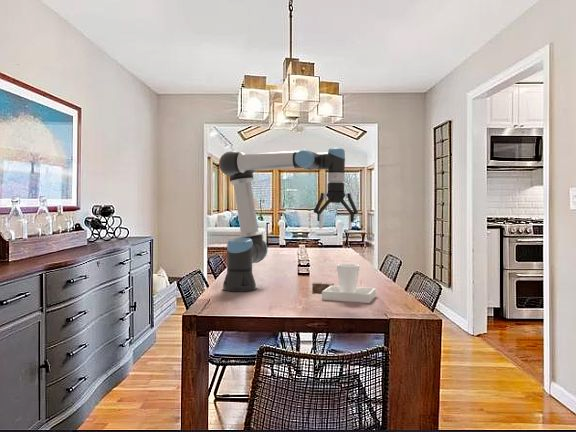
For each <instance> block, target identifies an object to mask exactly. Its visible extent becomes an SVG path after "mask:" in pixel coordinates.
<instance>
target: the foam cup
mask: <svg viewBox="0 0 576 432" xmlns="http://www.w3.org/2000/svg"><path fill="white" fill-rule="evenodd" d="M336 271H337V278H338V286H339V288H340V292H348V293H356V287H358V280H359V278H358V277H359V271H360V265H359V264H355V263H338V264H337V265H336Z"/></svg>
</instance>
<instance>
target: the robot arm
mask: <svg viewBox="0 0 576 432" xmlns="http://www.w3.org/2000/svg"><path fill="white" fill-rule="evenodd" d="M345 155H346V151H345V149H344V148H342V147H341V148H340V147H330V148H328V152H314V151H311V150H308V149H301V150H294V151H293V150H291V151H274V152H273V151H272V152H258V153H257V152H256V153H244V152H243V151H226V152H225V153H223V154H222V155H221V156H220V158H219V160H218V161H219V163H218V166H219V169H220V171H221V172H222V173H223V174H224V175H225V176H227V177H228V178H229V183H230V184H231V185H233V191H234V197H235V203H236V210H237V216H238V217H237V218H238V222H239V230H240V235H239V236H238V237H235V238H231V239H229V240H228V241H227V246H226V275H225V278H224V280H223V283H222V290H223V291H227V292H238V293H239V292H240V293H241V292H243V293H244V292H251V291H255V290H257V284H256V280H255V278H254V274H253V264H258V263H259V262H261V261H263V260H264V259H265V258H266V256H267V254H268V250H269V249H268V245H267V243H266V241H264V239H263V234H262V233H261V232H260V231H259V227H258V220H257V213H256V207H255V201H254V200H255V199H254V195H253V188H252V182H253V181H254V173H255V171H264V170H285V169H286V170H288V169H305V170H309V171H313V170H327V182H328V183H327V193H324V192H321V193H320V196H319V197H320V198H319V199H318V201H317V203H316V205H315V207H314V209H313V213H314V214H316V215H317V217H316V219H317V220H316V221H317V222H318V223H319V225H318V226H319V227H318V229H320V230H322V229H323V221H324V220H323V219H324V218H323V214H322V213H323V212H324V211H325V210H326V209H327V207H328V206H329V205H330V204H331V203H333V204H335V203H336V204H339V203H341V204H342V206H343V207H344V209H345V210H346V211H347V212H348V213H349V214H348V230H352V223H354V221H355V220H354V219H355V215H357V214H358V213H359V211H358V209H357V207H356V205H355V202H354V200H353V198H352V193H351V192H349V193H345V183H344V182H345V179H346V178H345V177H346V176H345V165H346V156H345ZM326 197H327V199H326V202H325V203H324V204H323V205H322V203H323V201H324V200H325V198H326ZM345 197H346V199H348V202H349V205H350V206H351V207H350V206H349V205H348V204H347V202H346V201H345V200H344V198H345ZM321 205H322V206H321Z"/></svg>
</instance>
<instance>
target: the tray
mask: <svg viewBox="0 0 576 432" xmlns="http://www.w3.org/2000/svg"><path fill="white" fill-rule="evenodd" d="M376 296H377V288H376V287H363V286H361V287H360V286H357V287H356V293H348V292H340V288H339V285H335V284H334V285H331V286H329V287H328V288H326V289H325V290H323V291H322V292H321V300H323V301H326V300H327V301H335V302H336V301H340V302H350V303H351V302H352V303H363V304H364V303H365V304H370V303H371V302H372V301H373V300H374V299H375V298H376Z"/></svg>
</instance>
